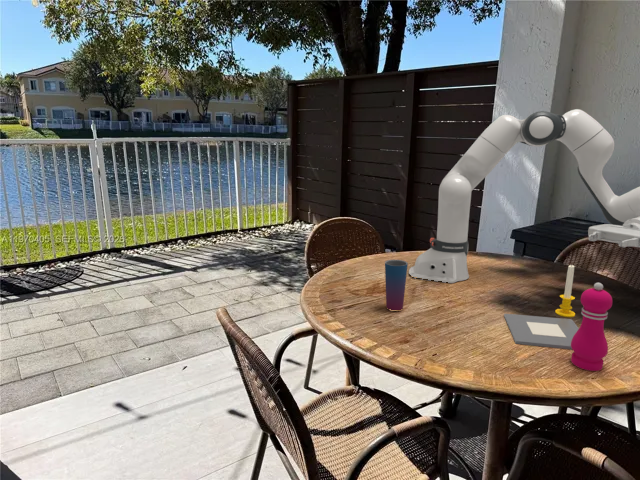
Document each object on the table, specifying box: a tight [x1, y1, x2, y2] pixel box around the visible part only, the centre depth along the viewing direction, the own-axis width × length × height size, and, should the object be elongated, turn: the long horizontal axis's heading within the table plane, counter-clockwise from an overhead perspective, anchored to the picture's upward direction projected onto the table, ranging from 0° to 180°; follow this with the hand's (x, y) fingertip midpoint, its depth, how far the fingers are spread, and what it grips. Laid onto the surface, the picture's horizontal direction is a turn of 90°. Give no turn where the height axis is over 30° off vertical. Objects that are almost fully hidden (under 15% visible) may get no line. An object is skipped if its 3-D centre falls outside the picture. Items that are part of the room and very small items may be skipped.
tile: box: [503, 313, 580, 351], centre depth 114 cm, size 18×18×1 cm
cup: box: [384, 259, 408, 310], centre depth 129 cm, size 7×7×15 cm
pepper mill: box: [570, 282, 613, 372], centre depth 96 cm, size 7×7×20 cm
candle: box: [554, 264, 576, 318], centre depth 125 cm, size 5×5×16 cm
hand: (605, 241), depth 125 cm, fingers open, 8 cm apart
